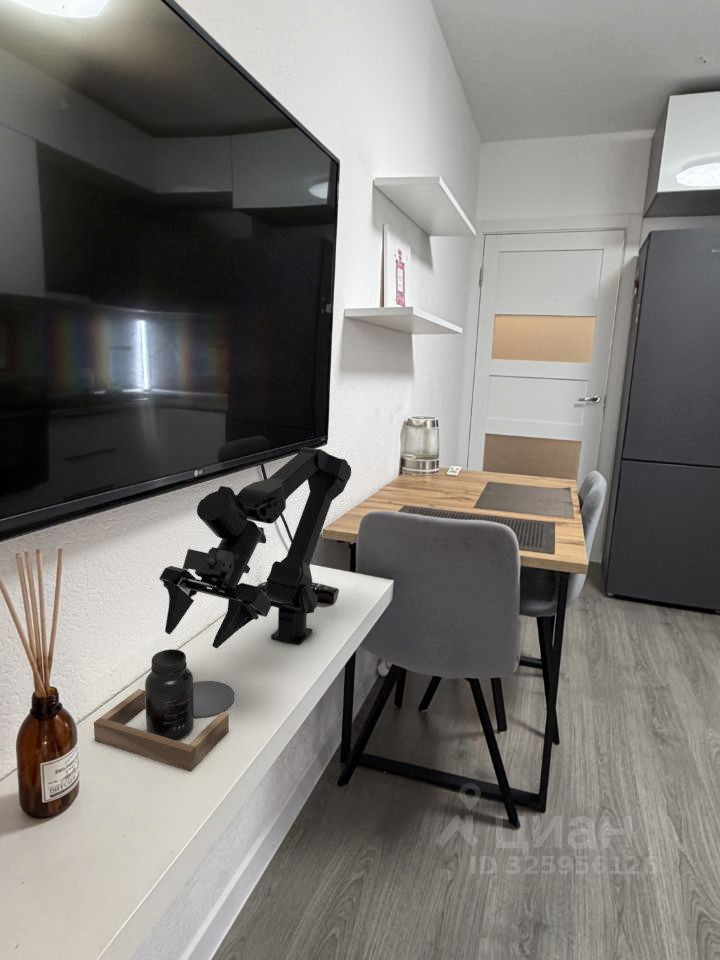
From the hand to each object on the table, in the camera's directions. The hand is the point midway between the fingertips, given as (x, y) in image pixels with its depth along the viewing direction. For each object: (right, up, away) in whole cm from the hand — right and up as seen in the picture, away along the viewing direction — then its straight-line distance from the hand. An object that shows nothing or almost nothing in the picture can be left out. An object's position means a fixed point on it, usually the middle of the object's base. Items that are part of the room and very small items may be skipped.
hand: (190, 640), depth 92 cm
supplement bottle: (-2, -13, -3) cm, 13 cm away
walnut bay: (-3, -13, -4) cm, 14 cm away
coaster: (+1, -11, +5) cm, 12 cm away
